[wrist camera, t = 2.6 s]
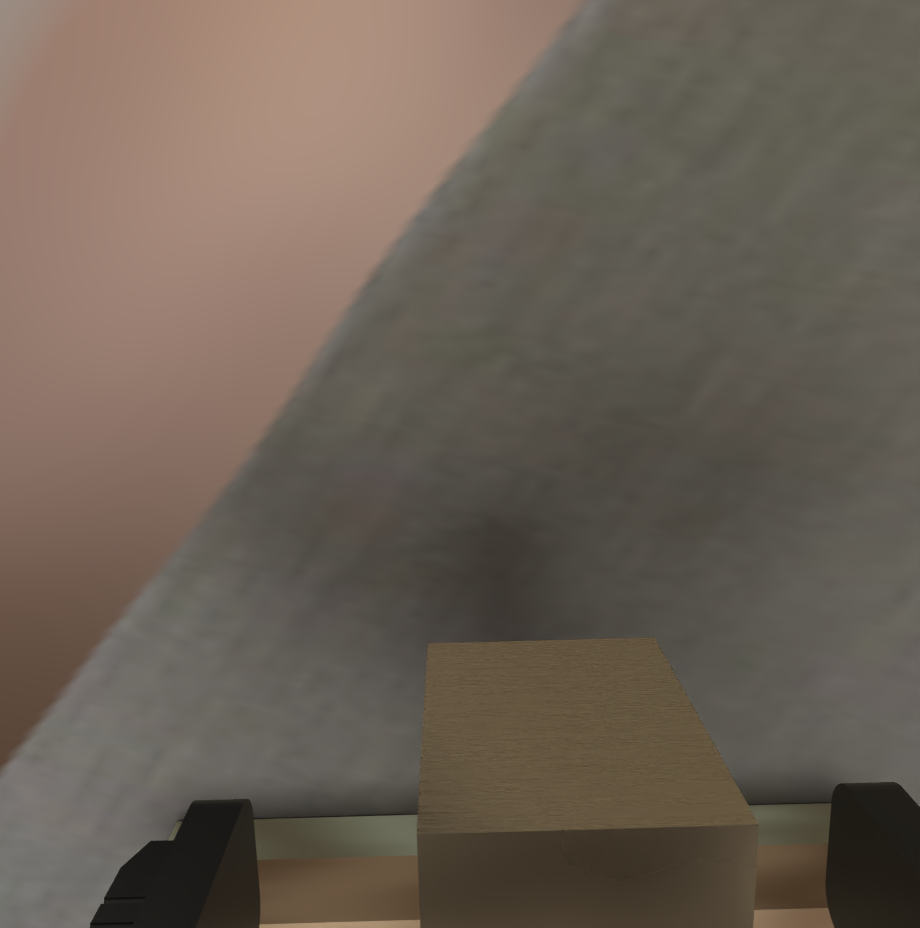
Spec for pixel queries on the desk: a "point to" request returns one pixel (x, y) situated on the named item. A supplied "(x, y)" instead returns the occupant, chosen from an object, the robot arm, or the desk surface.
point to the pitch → (396, 870)
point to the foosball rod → (575, 793)
